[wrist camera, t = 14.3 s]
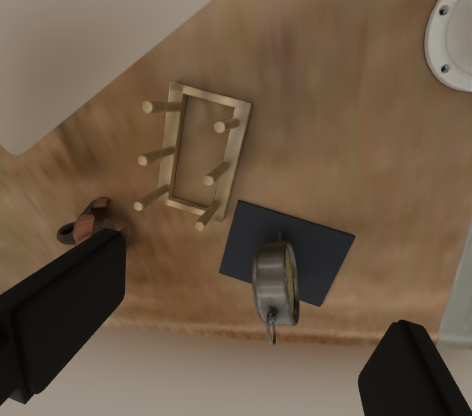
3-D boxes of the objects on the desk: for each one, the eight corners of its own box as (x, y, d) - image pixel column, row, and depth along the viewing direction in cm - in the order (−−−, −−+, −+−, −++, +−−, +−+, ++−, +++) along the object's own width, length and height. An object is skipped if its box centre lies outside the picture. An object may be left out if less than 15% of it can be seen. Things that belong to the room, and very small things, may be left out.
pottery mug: (123, 190, 44) (113, 227, 38) (144, 225, 51) (138, 261, 45) (54, 202, 44) (33, 241, 38) (84, 235, 51) (71, 272, 45)
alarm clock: (300, 283, 42) (304, 379, 28) (268, 285, 44) (255, 377, 29) (289, 223, 39) (287, 295, 24) (254, 227, 40) (232, 298, 26)
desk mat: (354, 235, 38) (355, 237, 38) (320, 305, 44) (320, 307, 43) (238, 199, 40) (237, 200, 39) (219, 271, 45) (218, 272, 45)
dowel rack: (253, 103, 34) (239, 102, 26) (224, 218, 41) (206, 248, 33) (175, 82, 35) (136, 75, 27) (160, 198, 42) (125, 222, 34)
